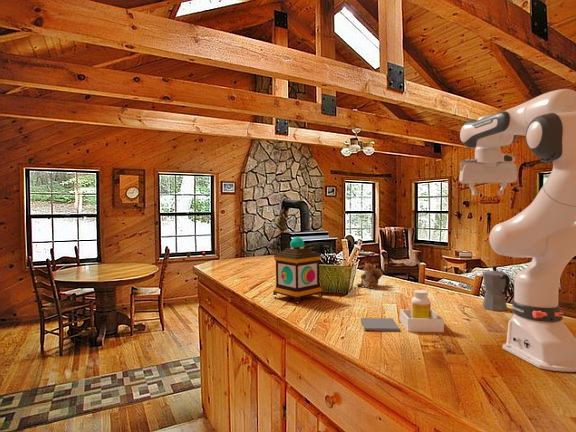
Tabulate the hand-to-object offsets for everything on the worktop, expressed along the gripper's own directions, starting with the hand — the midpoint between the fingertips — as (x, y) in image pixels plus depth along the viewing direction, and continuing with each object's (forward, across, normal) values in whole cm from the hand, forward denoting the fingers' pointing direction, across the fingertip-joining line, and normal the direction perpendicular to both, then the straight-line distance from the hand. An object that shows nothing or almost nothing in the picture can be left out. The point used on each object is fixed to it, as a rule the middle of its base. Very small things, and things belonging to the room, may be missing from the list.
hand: (487, 194), depth 140 cm
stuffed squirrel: (+48, -36, +58) cm, 84 cm away
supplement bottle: (+48, -28, -10) cm, 57 cm away
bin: (+48, -28, -10) cm, 56 cm away
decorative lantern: (+48, -75, +31) cm, 95 cm away
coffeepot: (+48, +10, +14) cm, 51 cm away
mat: (+48, -43, -10) cm, 65 cm away
